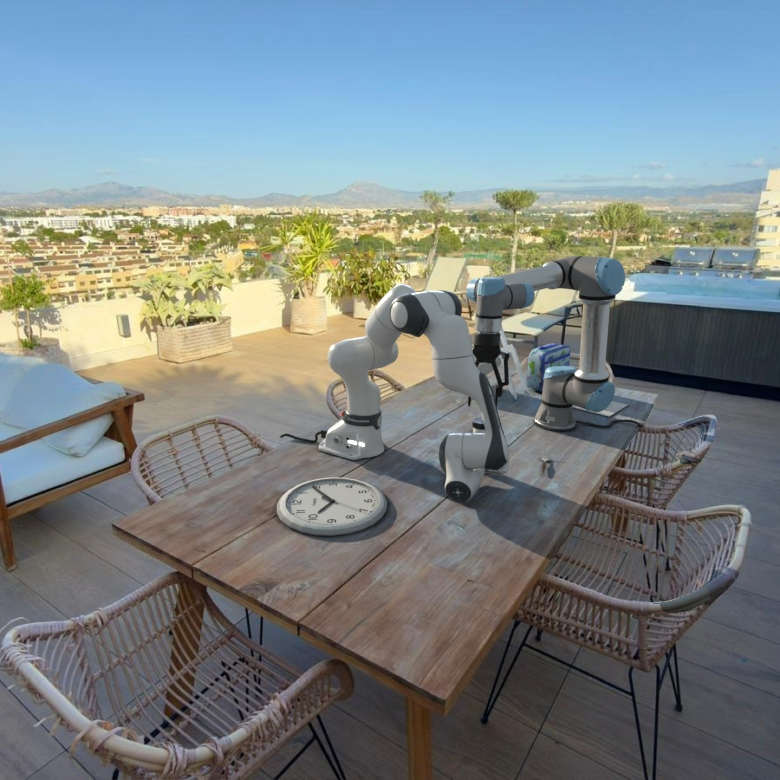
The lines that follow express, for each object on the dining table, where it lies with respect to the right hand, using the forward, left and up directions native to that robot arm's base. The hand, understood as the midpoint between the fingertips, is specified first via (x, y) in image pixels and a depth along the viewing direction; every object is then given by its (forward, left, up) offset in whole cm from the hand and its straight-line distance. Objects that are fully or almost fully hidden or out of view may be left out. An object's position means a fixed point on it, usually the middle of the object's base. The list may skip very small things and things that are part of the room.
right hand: (482, 405), depth 160 cm
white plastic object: (-4, -82, -21) cm, 85 cm away
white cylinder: (0, 0, -21) cm, 21 cm away
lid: (0, 0, -5) cm, 5 cm away
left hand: (0, -1, -15) cm, 15 cm away
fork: (-22, -6, -21) cm, 31 cm away
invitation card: (-56, -70, -21) cm, 92 cm away
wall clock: (+40, +29, -21) cm, 54 cm away
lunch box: (-37, -95, -21) cm, 104 cm away
